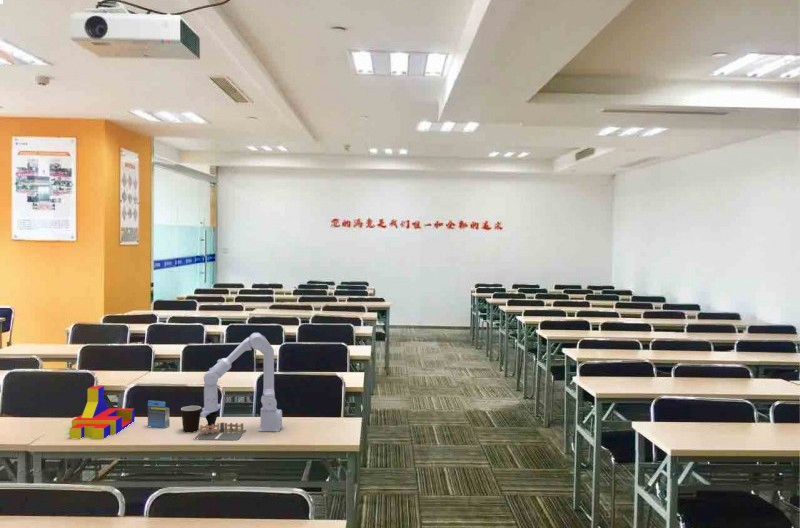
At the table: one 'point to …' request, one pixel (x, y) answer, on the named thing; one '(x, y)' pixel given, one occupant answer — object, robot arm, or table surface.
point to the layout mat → (220, 435)
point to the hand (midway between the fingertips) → (211, 429)
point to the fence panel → (209, 427)
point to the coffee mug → (190, 418)
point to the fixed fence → (224, 430)
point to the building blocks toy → (100, 417)
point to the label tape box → (158, 414)
